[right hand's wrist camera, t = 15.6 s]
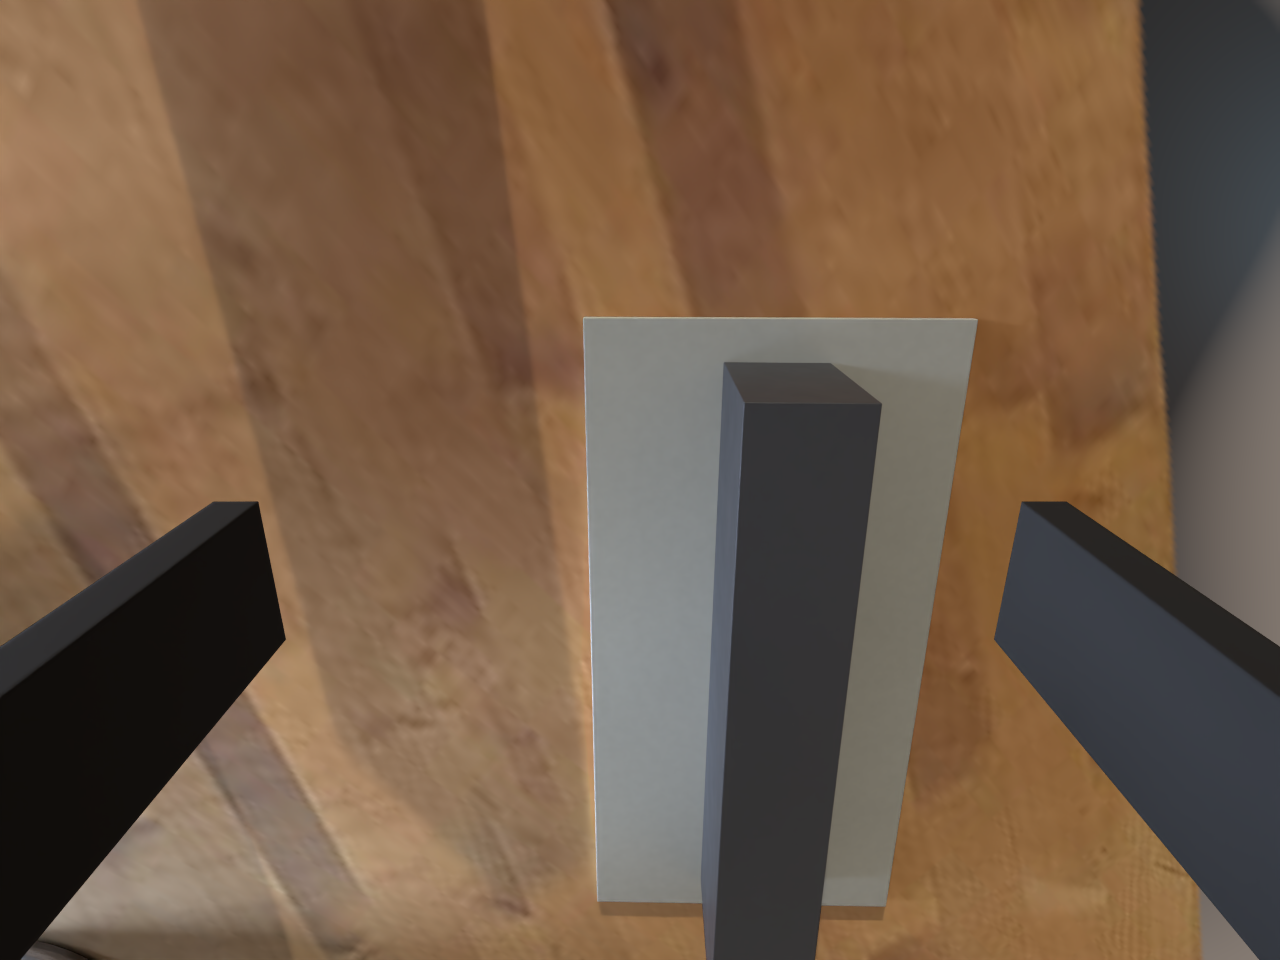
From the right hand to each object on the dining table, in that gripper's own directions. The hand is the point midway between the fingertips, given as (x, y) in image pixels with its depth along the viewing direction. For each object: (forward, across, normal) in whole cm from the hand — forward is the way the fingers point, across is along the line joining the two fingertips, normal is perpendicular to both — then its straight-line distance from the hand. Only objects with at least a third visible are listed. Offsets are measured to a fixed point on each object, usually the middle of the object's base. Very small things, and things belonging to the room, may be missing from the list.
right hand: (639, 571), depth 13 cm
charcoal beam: (+22, +6, -17) cm, 28 cm away
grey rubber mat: (+22, +6, -17) cm, 29 cm away
